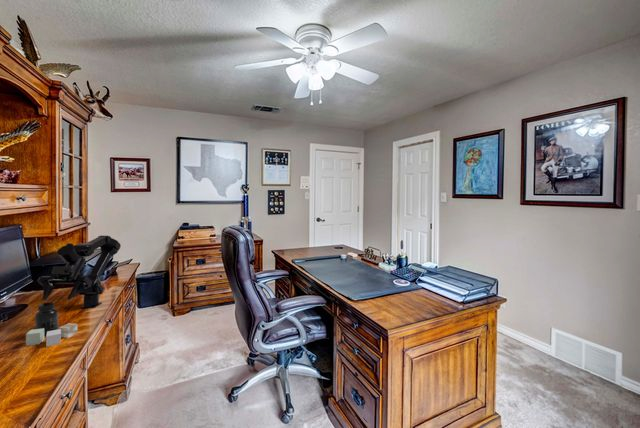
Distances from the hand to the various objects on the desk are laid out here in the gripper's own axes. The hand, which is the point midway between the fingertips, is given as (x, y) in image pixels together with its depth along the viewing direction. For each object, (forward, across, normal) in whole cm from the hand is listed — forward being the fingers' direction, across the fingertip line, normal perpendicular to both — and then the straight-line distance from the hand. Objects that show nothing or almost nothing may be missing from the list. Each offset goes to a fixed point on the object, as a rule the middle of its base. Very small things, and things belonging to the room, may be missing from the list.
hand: (56, 299), depth 125 cm
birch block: (+14, +9, +3) cm, 17 cm away
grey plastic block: (+18, +8, -1) cm, 20 cm away
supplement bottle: (+12, 0, +5) cm, 13 cm away
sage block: (+18, +1, -1) cm, 18 cm away
